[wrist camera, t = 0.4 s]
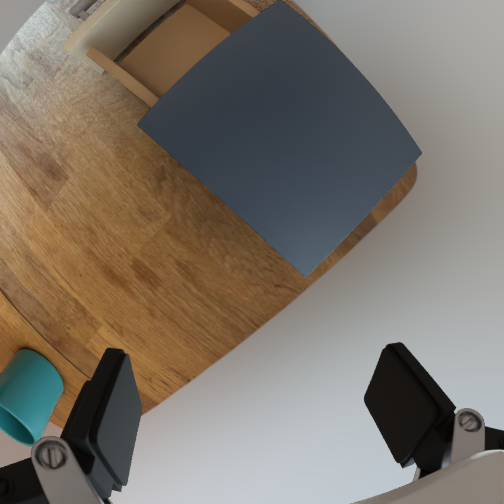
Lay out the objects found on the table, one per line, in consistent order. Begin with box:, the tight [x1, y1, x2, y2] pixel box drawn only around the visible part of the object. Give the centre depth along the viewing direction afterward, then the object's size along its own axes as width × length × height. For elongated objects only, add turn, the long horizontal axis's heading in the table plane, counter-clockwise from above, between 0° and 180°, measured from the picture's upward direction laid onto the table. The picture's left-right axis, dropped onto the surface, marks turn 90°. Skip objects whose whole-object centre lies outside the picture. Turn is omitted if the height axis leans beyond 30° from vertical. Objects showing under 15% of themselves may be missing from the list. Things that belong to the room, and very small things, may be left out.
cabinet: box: [137, 0, 422, 278], centre depth 20 cm, size 15×13×9 cm
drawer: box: [61, 0, 260, 108], centre depth 16 cm, size 18×11×7 cm, turn 46°
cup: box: [0, 349, 64, 447], centre depth 25 cm, size 9×12×11 cm
